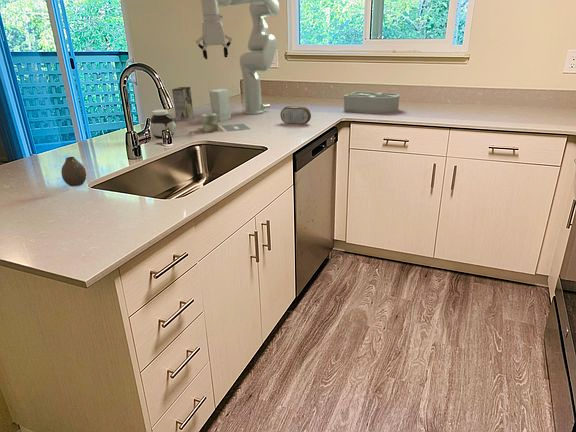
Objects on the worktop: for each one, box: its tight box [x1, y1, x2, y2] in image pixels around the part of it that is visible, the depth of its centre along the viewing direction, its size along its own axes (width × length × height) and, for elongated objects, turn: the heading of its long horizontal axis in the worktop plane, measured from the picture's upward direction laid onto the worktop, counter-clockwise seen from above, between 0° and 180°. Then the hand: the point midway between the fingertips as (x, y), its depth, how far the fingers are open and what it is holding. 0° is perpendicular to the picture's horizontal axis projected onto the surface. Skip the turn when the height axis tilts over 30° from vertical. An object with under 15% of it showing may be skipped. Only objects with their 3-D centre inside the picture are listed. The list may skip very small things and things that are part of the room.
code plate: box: [221, 123, 251, 132], centre depth 208 cm, size 11×14×1 cm
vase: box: [61, 156, 87, 187], centre depth 137 cm, size 7×7×9 cm
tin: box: [280, 105, 312, 126], centre depth 212 cm, size 15×3×8 cm, turn 71°
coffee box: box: [172, 86, 195, 122], centre depth 230 cm, size 9×6×16 cm
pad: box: [197, 125, 225, 134], centre depth 204 cm, size 10×12×1 cm
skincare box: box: [209, 88, 232, 122], centre depth 223 cm, size 8×7×16 cm
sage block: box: [201, 112, 219, 132], centre depth 203 cm, size 6×6×7 cm
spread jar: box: [149, 109, 177, 140], centre depth 196 cm, size 12×11×12 cm
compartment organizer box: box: [343, 91, 400, 115], centre depth 239 cm, size 17×28×9 cm, turn 60°
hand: (216, 58), depth 210 cm, fingers open, 9 cm apart
